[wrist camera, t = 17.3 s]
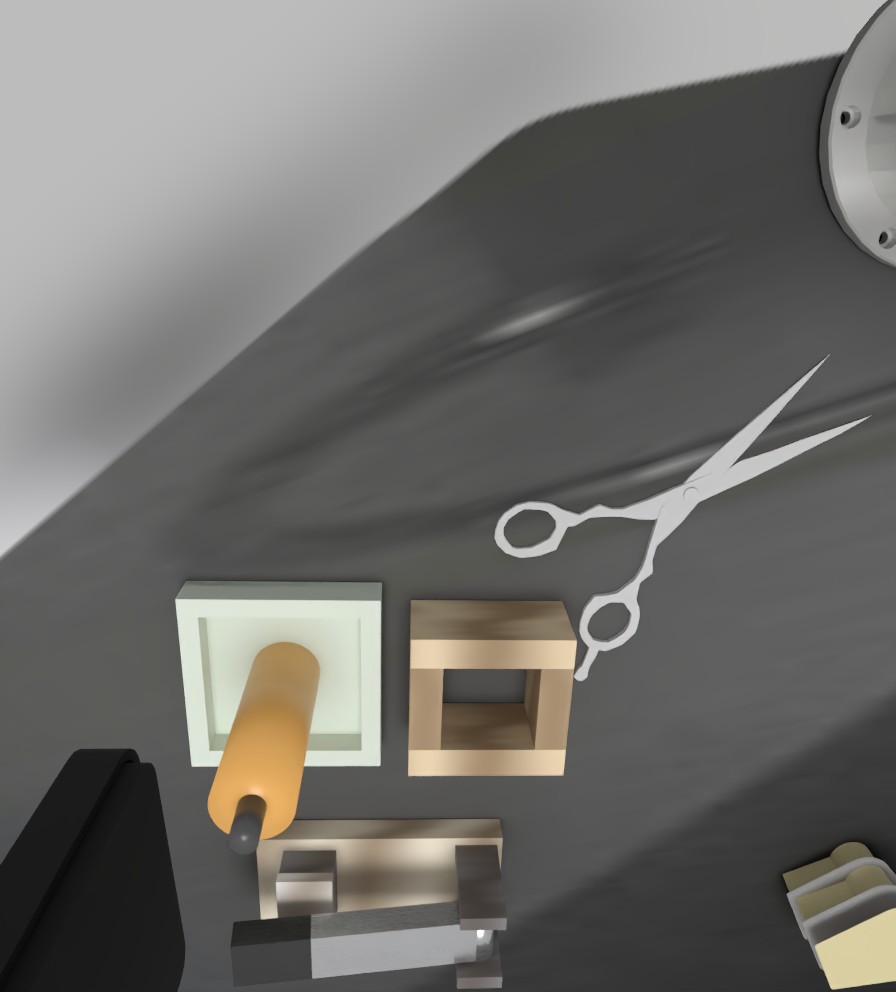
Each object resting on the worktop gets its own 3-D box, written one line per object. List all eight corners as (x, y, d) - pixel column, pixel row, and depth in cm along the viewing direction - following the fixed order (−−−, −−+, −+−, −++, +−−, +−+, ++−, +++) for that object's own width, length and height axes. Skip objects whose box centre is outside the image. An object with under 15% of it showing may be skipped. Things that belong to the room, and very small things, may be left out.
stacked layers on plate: (778, 947, 53) (818, 1029, 48) (739, 852, 50) (777, 929, 45) (927, 894, 52) (984, 971, 46) (895, 794, 49) (953, 865, 43)
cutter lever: (492, 896, 44) (498, 921, 43) (489, 934, 45) (494, 960, 44) (233, 921, 42) (230, 948, 41) (237, 960, 43) (234, 987, 42)
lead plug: (319, 641, 42) (287, 805, 31) (321, 700, 43) (291, 877, 32) (249, 642, 42) (191, 806, 31) (253, 700, 43) (199, 879, 32)
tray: (382, 582, 42) (380, 600, 40) (381, 742, 45) (380, 765, 43) (186, 580, 41) (175, 599, 39) (200, 742, 45) (191, 766, 43)
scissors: (460, 546, 41) (803, 296, 37) (460, 539, 42) (795, 294, 38) (579, 682, 44) (906, 466, 40) (576, 674, 45) (897, 461, 41)
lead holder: (562, 600, 42) (576, 640, 39) (550, 727, 45) (562, 775, 42) (410, 599, 42) (410, 639, 38) (408, 727, 45) (408, 775, 41)
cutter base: (499, 818, 47) (513, 911, 41) (494, 895, 50) (506, 994, 43) (260, 820, 47) (238, 914, 41) (265, 898, 49) (244, 999, 43)
